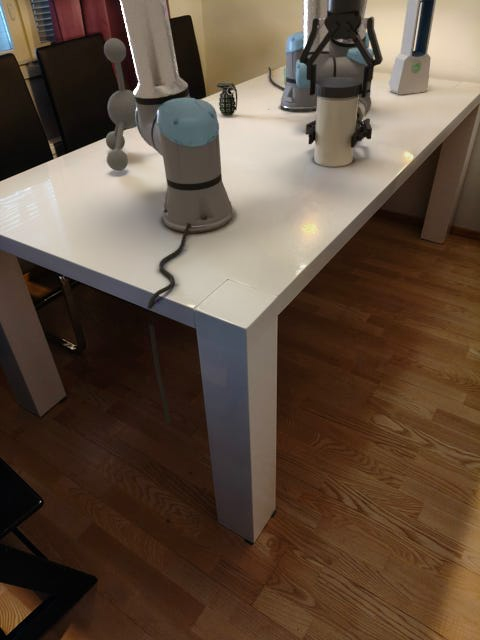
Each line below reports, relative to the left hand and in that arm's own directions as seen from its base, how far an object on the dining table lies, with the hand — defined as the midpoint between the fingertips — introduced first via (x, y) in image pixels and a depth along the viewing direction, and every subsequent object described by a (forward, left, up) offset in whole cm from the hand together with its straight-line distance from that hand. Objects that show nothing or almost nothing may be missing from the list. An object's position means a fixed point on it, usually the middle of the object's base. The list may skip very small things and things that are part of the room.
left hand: (337, 95), depth 121 cm
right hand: (-4, 0, -10) cm, 11 cm away
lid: (0, 0, +3) cm, 3 cm away
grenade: (+28, +48, -16) cm, 58 cm away
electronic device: (+77, -2, -16) cm, 79 cm away
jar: (0, 0, -16) cm, 16 cm away
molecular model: (-17, +51, -16) cm, 57 cm away
